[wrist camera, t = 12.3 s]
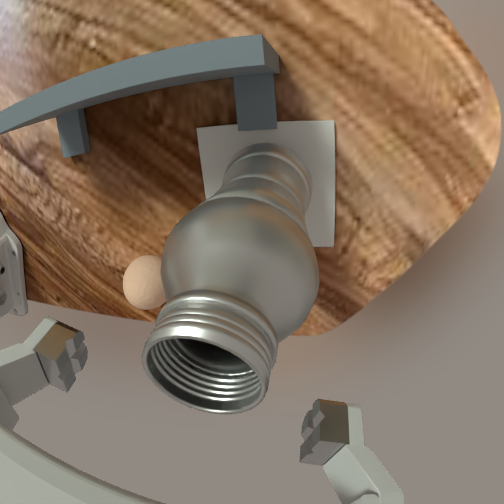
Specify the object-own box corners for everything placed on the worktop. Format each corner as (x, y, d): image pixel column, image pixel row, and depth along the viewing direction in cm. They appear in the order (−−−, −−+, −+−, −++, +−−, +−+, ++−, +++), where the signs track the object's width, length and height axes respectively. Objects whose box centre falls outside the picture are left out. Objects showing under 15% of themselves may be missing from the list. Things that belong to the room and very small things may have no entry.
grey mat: (333, 244, 28) (333, 246, 28) (214, 244, 30) (213, 246, 30) (333, 120, 23) (334, 121, 23) (197, 127, 25) (196, 128, 24)
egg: (138, 239, 31) (110, 270, 26) (184, 253, 31) (161, 287, 26) (137, 279, 34) (113, 312, 29) (180, 292, 34) (159, 328, 29)
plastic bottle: (257, 121, 24) (126, 228, 6) (328, 169, 25) (374, 372, 7) (217, 185, 27) (81, 368, 9) (284, 227, 28) (245, 451, 10)
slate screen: (284, 127, 24) (271, 151, 15) (66, 156, 28) (-4, 190, 19) (278, 54, 21) (261, 34, 12) (56, 101, 25) (-18, 122, 16)
